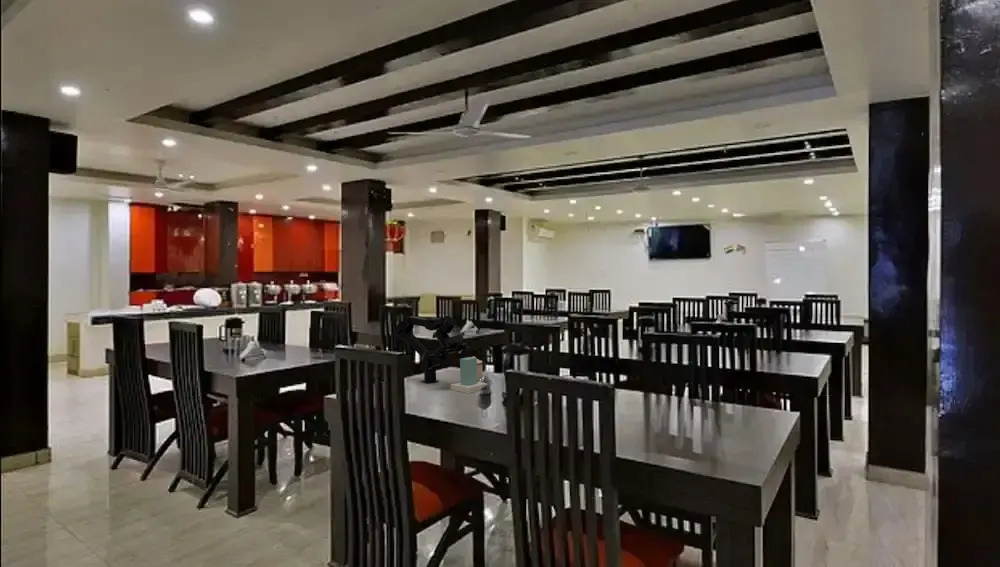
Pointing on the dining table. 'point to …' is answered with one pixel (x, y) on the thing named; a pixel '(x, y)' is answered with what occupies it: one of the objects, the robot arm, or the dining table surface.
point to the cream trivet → (467, 387)
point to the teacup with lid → (479, 369)
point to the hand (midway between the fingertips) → (460, 364)
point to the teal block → (468, 371)
